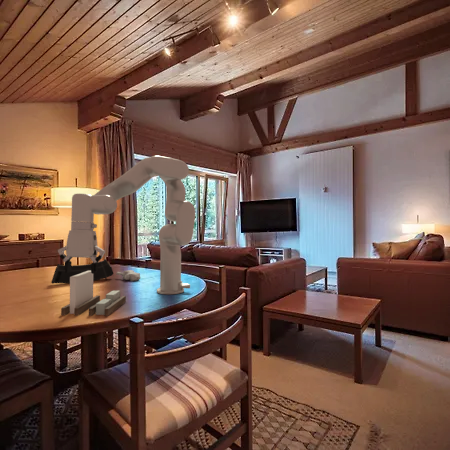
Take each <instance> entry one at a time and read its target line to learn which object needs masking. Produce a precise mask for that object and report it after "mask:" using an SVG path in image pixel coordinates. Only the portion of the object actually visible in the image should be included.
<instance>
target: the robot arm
mask: <svg viewBox="0 0 450 450" xmlns="http://www.w3.org/2000/svg"><path fill="white" fill-rule="evenodd" d="M189 173H190V169H189V166H188V164H187V163H186V162H185V161H183V160H181V159H177V158H172V157H167V156H161V155H153V156H148V157H145V158H143V159H141V160H140V161H139V162H137V163H136V164H135V165H133V166H132V167H131V168H129V169H128V170H127V171H126V172H124V173H123V174H122V175H120V176H119V177H118V178H116V179H114V180H113V181H112V182H110V183H108V184H107V185H106V186H104V187H102V188H101V189H99V190H98V192H96V193H95V194H93V195H92V194H89V193H74V194H73V195H72V197H71V219H70V223H71V224H70V229H71V230H69V231H68V234H67V239H66V245H65V246H64V247H61V248H59V249H57V252H58V254H59V257H60V258H61V260H62V262H64V265H65V267H64V269H65V273H68V272H71V266H72V264H73V263H72V261H71V260H73V259H72V258H89V259H91V261H92V262H91V263H90V264H91V273H92V274H94V273H96V272H97V270H98V262H100V261H102V259H103V257H104V255H105V253H106V250H105V249H102V248H101V247H99V245H98V236H97V231H96V230H95V229H96V228H98V224H97V223H95V221H94V218H95V217H94V215H110V214H112V213H114V212H115V211H116V210H117V208H118V201H119V200H120V199H122V198H124V197H127V196H131V195H132V194H134V193H137V192H138V190H140V189H141V188H142V187H143V186H145V184H147V183H148V182H149V181H150V180H152V179H153V178H154V177H159V178H160V179H161V180H162V181H163V182H164V184H165V186H166V190H167V194H166V203H165V210H164V214H165V215H164V216H165V219H167V220H168V221H170V222H175V223H167V224H165V225H162V226H161V228H160V229H159V231H158V240H159V241H158V242H159V246H160V249H159V250H160V266H159V267H160V269H159V270H160V271H159V272H160V274H159V275H160V276H159V277H160V278H159V279H160V280H159V283H160V284H159V285H160V286H159V287H158V288H157V289H156V293H157V294H161V295H177V294H178V295H179V294H182V293H184V291H185V289H191V284H190V283H184V282H183V280H182V251H181V246H187V245H189V243H191V241H192V238H193V234H194V228H195V223H196V222H195V221H196V208H195V206H194V205H193V203H192V202H190V201H188V200H186V194H187V193H186V191H187V190H186V187H185V184H184V182H183V180H184V179H185V178H187V177H188V176H189ZM98 253H99V255H98Z"/></svg>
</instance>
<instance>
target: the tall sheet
mask: <svg viewBox="0 0 450 450" xmlns="http://www.w3.org/2000/svg"><path fill="white" fill-rule="evenodd" d="M93 297H94V281H93V274H92V273H91V271H86V272H83V273H80V274H77V275H74V276H71V277H70V283H69V304H70V313H69V314H70V315H72V314H73V315H74V308H76V307H78V306H79V305H81V304H83V303H85V302H86V301H88V300H90V299H92V298H93Z"/></svg>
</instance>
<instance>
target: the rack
mask: <svg viewBox="0 0 450 450" xmlns="http://www.w3.org/2000/svg"><path fill="white" fill-rule="evenodd" d="M104 299H106V297H104ZM126 300H127V296H126V295H122V296H120V298H119V299H118V300H116V301H115V302H114V303H112V304H111V305H109V306H108V307H107V308H105V315H104V316H105V317H109V316H110V315H112V314H113V313H114V312H115V311H116V310H118V309H119V308H120V307H121V306H123V305H124V304H125V303H126V302H127V301H126ZM99 301H101V295H95V296H93V298H92V299H90V300H88V301H86V302H85V303H83V304H81V305H79V306H78V307H76V308H74V314H73V315H74V316H75V317H76V316H80V315H82V314H83V313H84V312H86V311H88V316H89V317H92V316H94V315H96V303H98V302H99ZM67 314H70V303H68V304H66V305H64V306H63V307H61V308H60V315H61V316H66V315H67Z"/></svg>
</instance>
